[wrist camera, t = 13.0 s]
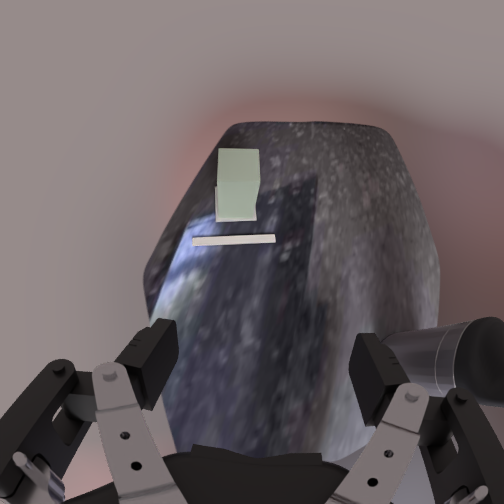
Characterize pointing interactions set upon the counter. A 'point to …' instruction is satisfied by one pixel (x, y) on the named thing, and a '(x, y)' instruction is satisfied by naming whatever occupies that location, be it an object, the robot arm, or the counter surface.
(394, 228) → the counter surface
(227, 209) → the sage block
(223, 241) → the pale grey thin rod
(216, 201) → the mat
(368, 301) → the counter surface
